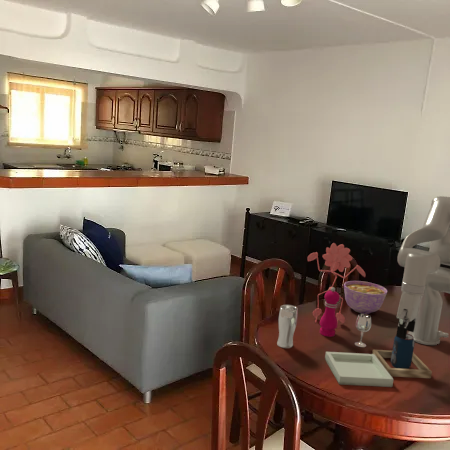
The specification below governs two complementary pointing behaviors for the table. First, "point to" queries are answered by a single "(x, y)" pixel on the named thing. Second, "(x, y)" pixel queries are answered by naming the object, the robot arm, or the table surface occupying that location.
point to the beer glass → (287, 325)
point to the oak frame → (398, 372)
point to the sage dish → (358, 369)
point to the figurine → (336, 260)
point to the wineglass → (363, 326)
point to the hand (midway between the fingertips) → (405, 334)
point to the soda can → (402, 352)
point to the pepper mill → (329, 314)
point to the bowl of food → (364, 296)
